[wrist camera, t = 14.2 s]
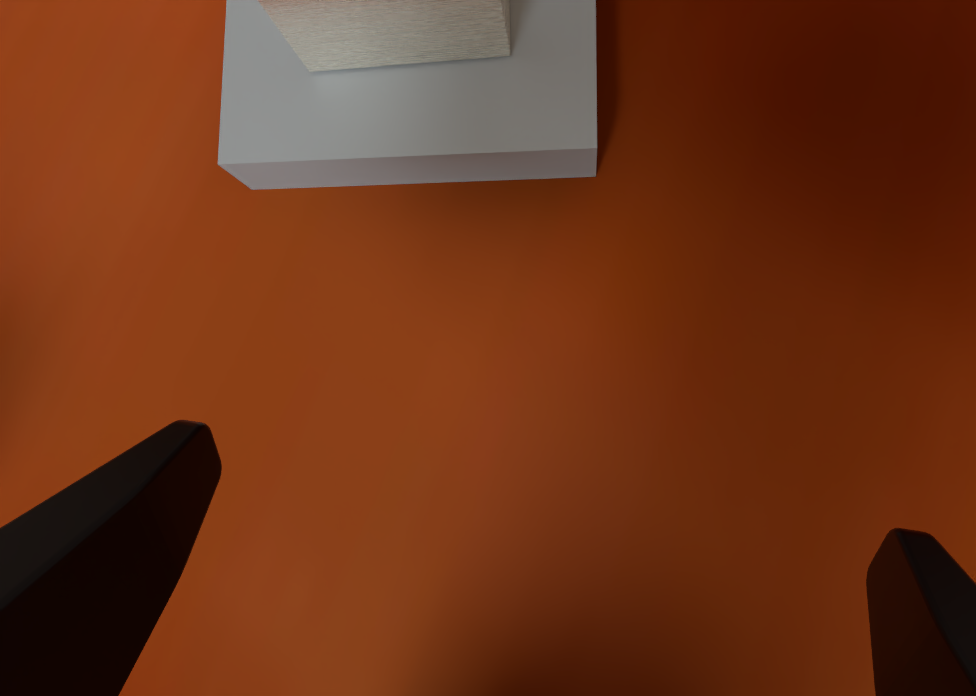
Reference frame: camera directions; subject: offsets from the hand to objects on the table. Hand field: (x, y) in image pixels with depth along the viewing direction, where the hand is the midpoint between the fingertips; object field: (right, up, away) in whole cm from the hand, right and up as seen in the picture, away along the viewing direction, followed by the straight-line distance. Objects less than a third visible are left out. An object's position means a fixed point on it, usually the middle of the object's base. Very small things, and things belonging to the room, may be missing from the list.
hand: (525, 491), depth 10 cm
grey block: (-3, +13, +16) cm, 21 cm away
